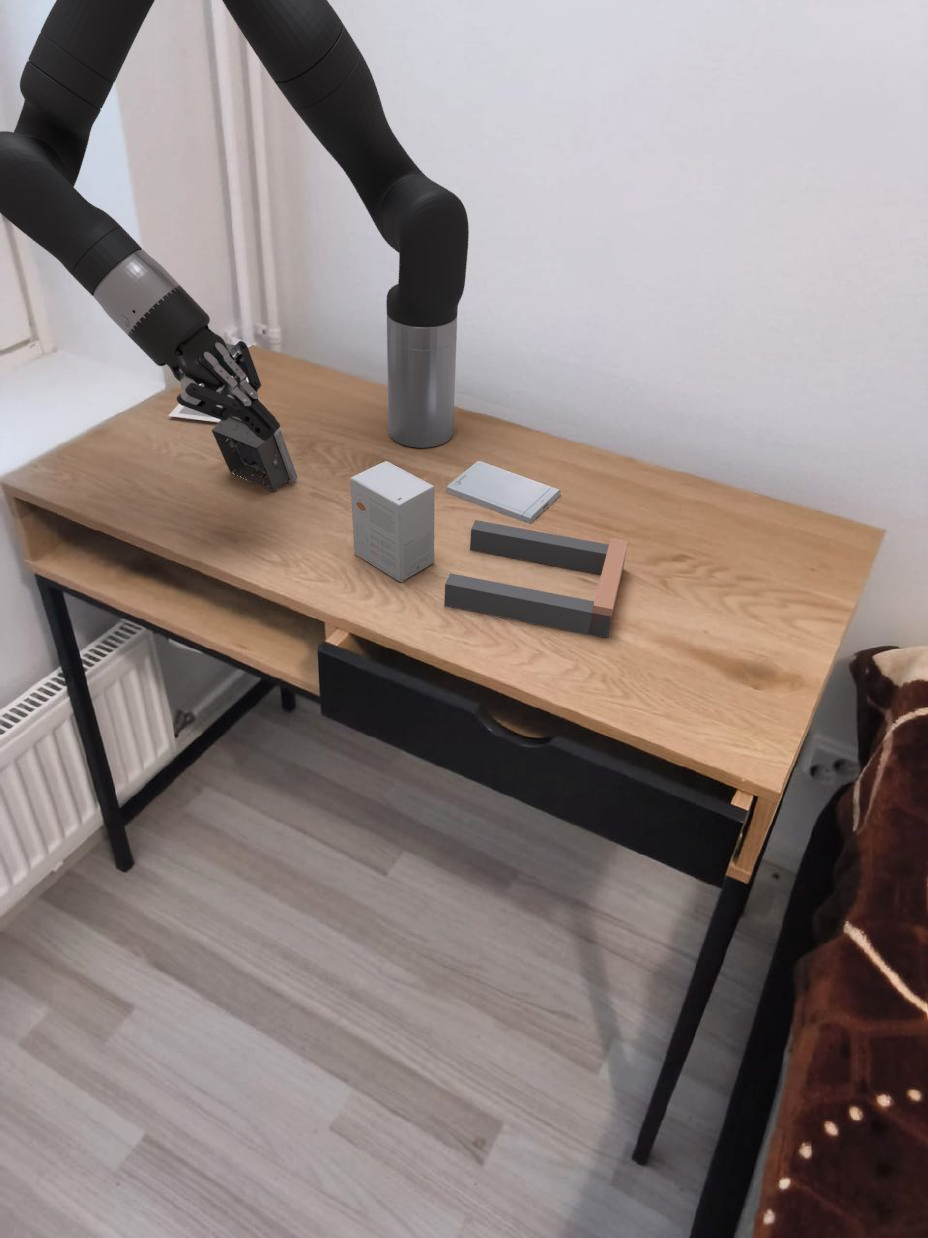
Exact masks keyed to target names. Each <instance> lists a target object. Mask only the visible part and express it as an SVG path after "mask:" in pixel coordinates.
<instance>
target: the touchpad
mask: <svg viewBox="0 0 928 1238" xmlns="http://www.w3.org/2000/svg"><path fill="white" fill-rule="evenodd" d="M232 377H233V376H232ZM246 381H247V382H249V381H248V378H246ZM217 391H218V390H217ZM218 392H219V391H218ZM216 406H217V407H220V408H222V406H220V405H216ZM167 417H171V418H173V417H174V418H180V419H188V420H196V421H197V420H198V421H205V422H214V423H219V421H220V419H217V418H215V417H212V416H209V415H207V414H204V413H201V412H199V411H196V410H193V409H190V408H188V407H185V406H182V405H180V404H179V403H178V404H177V405H176V407H175V408H174V409H172V411H171V412H170V413H169V414H168V416H167Z"/></svg>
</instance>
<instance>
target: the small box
mask: <svg viewBox="0 0 928 1238" xmlns="http://www.w3.org/2000/svg"><path fill="white" fill-rule="evenodd" d="M349 481H350V482H349V483H350V496H351V497H350V499H351V500H350V501H351V513H352V515H351V516H352V532H353V550H354V555H356V556H357V557H359V558H360V559H363V561H365V562H367V563H369V564H370V565H372V566H374V567H375V568H377V569H378V570H380V571H381V572H383V573H385V574H386V575H388V576H390V577H391V578H393V579H394V580H396V581H398V582H399V583H402V582H404V581H406V580H407V579H409V578H410V577H412V576H415V575H416V574H417V573H418V572H421V571H422V570H424V569H426V568H427V567H429V566H431V565H432V564H434V563H435V496H436V495H435V486H434V485H432V484H431V483H429V482H427V481H425V480H423V479H421V478H420V477H417V475H416V476H415V475H414V474H412V473H410V472H408V471H407V470H404V469H402V468H400V467H398V466H396V465H395V464H392V463H391V462H389V461H387V460H385V461H384V462H380V463H379V464H377V465H374V466H372V467H370V468H368V469H366V470H364V471H362V472H360V473H357V474H355V475H353V476H351V477H350V478H349Z"/></svg>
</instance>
